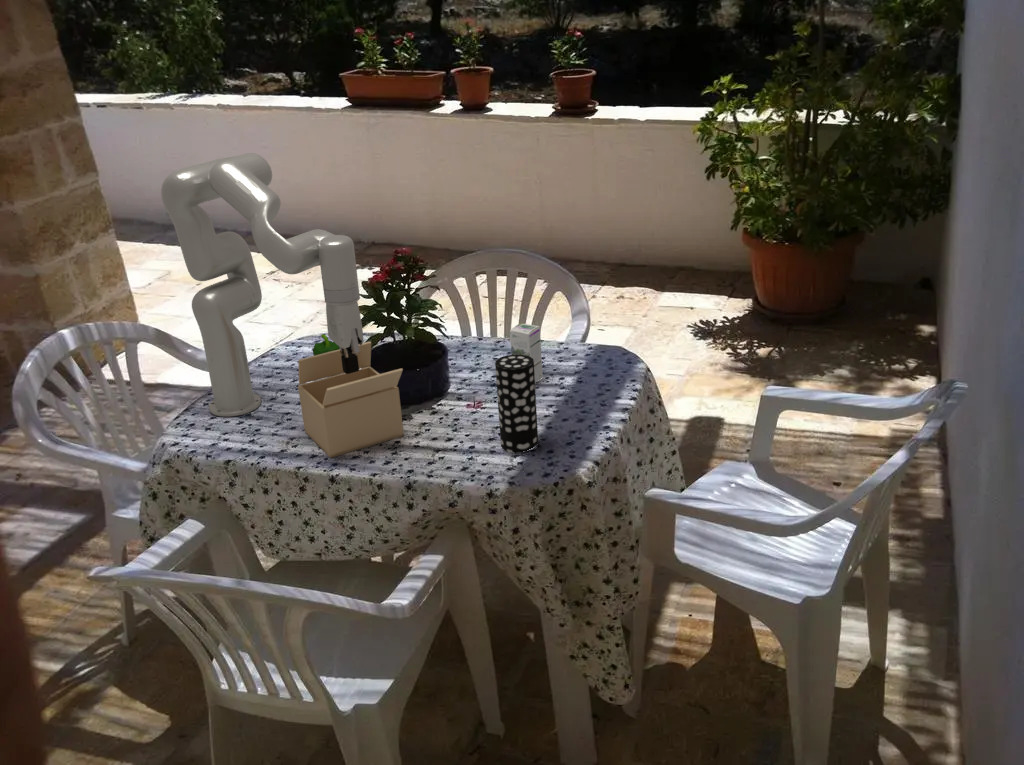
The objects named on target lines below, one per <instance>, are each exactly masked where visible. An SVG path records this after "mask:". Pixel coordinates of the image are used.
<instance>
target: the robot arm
mask: <svg viewBox="0 0 1024 765" xmlns="http://www.w3.org/2000/svg"><path fill="white" fill-rule="evenodd" d="M272 180H273V171H272V168H271V165H270V164H269V162H268V161H267V160H266V159H265V158H264V157H263V156H261V155H260V154H257V153H254V152H248V153H244V154H240V155H233V156H229V157H222V158H218V159H215V160H210V161H207V162H202V163H198V164H194V165H191V166H186V167H184V168H180V169H178V170H175V171H173V172H172V173H170V174H168V175H167V176H166V178H165V179H164V180H163V182H162V185H161V189H160V190H161V191H160V193H161V194H160V195H161V199H162V200H161V201H162V204H163V206H164V208H165V210H166V213H167V214H168V216H169V218H170V220H171V222H172V224H173V226H174V230H175V233H176V236H177V240H178V243H179V247H180V249H181V254H182V257H183V260H184V263H185V266H186V269H187V271H188V273H189V275H190V277H191V278H192V279H193V280H195V281H197V282H207V281H211V280H214V279H216V278H219V277H222V276H226V275H227V279H224V280H221V281H218V282H216V283H215V282H214V283H212V284H210V285H208V286H205V287H204V288H201V289H200V290H199V291H197V292H196V293H195V294H194V295H193V298H192V299H191V310H192V313H193V316H194V318H195V321H196V323H197V325H198V328H199V331H200V335H201V339H202V344H203V348H204V355H205V358H206V364H207V369H208V374H209V381H210V384H211V385H210V386H211V391H212V395H213V400H212V401H211V402H209V404H208V409H209V410H208V411H209V412H210V414H212V415H214V416H217V417H222V418H223V417H225V418H227V417H237V416H241V415H245V414H248V413H250V412H253V411H255V410H256V409H258V408H259V407H260V406H261V403H262V399H261V396H260V395H259V394H258V393H254V389H253V383H252V379H251V378H252V377H251V373H250V366H249V361H248V356H247V350H246V344H245V339H244V337H243V336H244V335H243V333H242V332H241V331H240V329H238V328H237V326H236V325H235V324H234V322H233V321H235V320H236V319H238V318H240V317H242V316H244V315H245V316H246V315H248V314H250V313H252V312H255V311H256V310H257V309H258V308H259V307H260V306H261V304H262V301H263V300H262V299H263V297H262V296H263V295H262V289H261V285H260V281H259V277H258V272H257V270H256V265H255V262H254V259H253V256H252V252H251V250H250V247H249V245H248V243H247V242H246V240H245V239H244V238H243V236H241V235H240V234H238V233H237V232H234V231H223V232H220V233H217V234H216V231H215V227H214V223H213V220H212V219H211V217H210V215H209V214H208V213H207V212H206V211H205V209H203V208H202V207H201V206H200V205H201V204H203V203H206V202H210V201H213V200H217V199H221V198H222V199H223V200H224V201H225V202H226V203H227V204H228V205H229V206H230V207H232V208H233V209H234V210H235V211H236V212H238V214H240V215H241V216H242V217H243V218H244V219H245V220H246V221H248V222H249V223H250V224H251V235H252V239H253V241H254V243H255V246H256V248H257V251H258V252H259V253H260V254H261V255H262V257H264V258H265V259H266V260H267V261H268V262H269V263H270V264H272V265H273V266H274V267H275V268H276V269H277V270H279V271H281V272H282V273H285V274H287V275H297V274H301V273H304V272H306V271H308V270H310V269H312V268H315V267H318V266H320V273H321V274H320V275H321V281H322V289H323V290H322V291H323V296H324V303H325V314H326V315H325V316H326V327H327V337H328V339H330V341H332V342H334V343H336V344H337V345H338V346H339V348H340V353H341V355H342V356H341V359H342V367H343V372H345V373H346V374H350V373H354V372H358V371H359V365H358V356H357V355H358V353H360V350H359V345H362V344H363V343H364V330H363V324H362V318H361V314H360V313H361V312H360V308H359V302H358V301H360V300H361V296H360V288H359V287H360V286H359V281H358V280H359V278H358V270H357V260H356V253H355V244H354V241H353V239H352V238H351V237H350V236H348V235H346V234H345V235H343V234H335V233H332V232H330V231H328V230H325V229H319V228H315V229H311V230H308V231H307V232H303V233H301V234H297V235H295V236H292V237H289V238H285V237H283V236H282V235H281V234H280V233H279V232H277V231H276V230H275V229H274V228H273V226H272V222H273V221H274V220H275V218H276V217H277V216H278V213H279V211H280V209H281V204H282V203H281V198H280V196H279V195H278V194H277V193H276V192H274V191H273V189H271V188H270V187H269V185H270V184H271V183H272ZM358 344H359V345H358Z"/></svg>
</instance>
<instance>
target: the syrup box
mask: <svg viewBox="0 0 1024 765" xmlns="http://www.w3.org/2000/svg"><path fill="white" fill-rule="evenodd" d="M509 338H510V340H509V341H510V352H511V354H510V355H514V354H520V355H527V356H530V357H532V358H533V360H534V373H535V382H537V381H538V380H540V379H541V378H542V377H543V378H544V375H543V373H544V372H543V361H542V360H543V359H542V357H543V356H542V343H541V342H542V341H541V340H542V339H541V326H540V325H536V324H535V325H533V324H528V323H521V322H520V323H519V324H516V325H515V326H514V327H512V328H511V329H510V330H509ZM540 381H541V380H540Z"/></svg>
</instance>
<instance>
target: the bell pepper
mask: <svg viewBox="0 0 1024 765" xmlns="http://www.w3.org/2000/svg"><path fill="white" fill-rule="evenodd" d="M320 337H321V338H322V339H323V341H321V342H315V343H314V346H313V348H312V355H313V356H315V355H319V354H323V353H327V352H331V351H335V350H339V349H340V348H339V346H338V345H337V344H336V343H334V342H333V341H332V340H329V337H328V335H326V334H323V333H322V334H321V335H320Z"/></svg>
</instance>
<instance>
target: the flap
mask: <svg viewBox="0 0 1024 765" xmlns="http://www.w3.org/2000/svg"><path fill="white" fill-rule="evenodd" d="M358 345H359V344H358ZM359 350H360V353H358V355H357V356H358V365H359V369H362V368H366V367H371V364H372V363H371V358H372V341H367V342H363V344H362V345H359ZM341 356H342V355H341V353H340V349H339V350H335V351H331V352H327V353H323V354H319V355H315V356H314V355H313V356H308V357H304V358H300V359H298V361H297V362H298V385H302V384H306V383H309V382H313V381H317V380H321V379H324V378H328V377H332V376H336V375H340V374H343V373H345V372H343V367H342V359H341Z"/></svg>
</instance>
